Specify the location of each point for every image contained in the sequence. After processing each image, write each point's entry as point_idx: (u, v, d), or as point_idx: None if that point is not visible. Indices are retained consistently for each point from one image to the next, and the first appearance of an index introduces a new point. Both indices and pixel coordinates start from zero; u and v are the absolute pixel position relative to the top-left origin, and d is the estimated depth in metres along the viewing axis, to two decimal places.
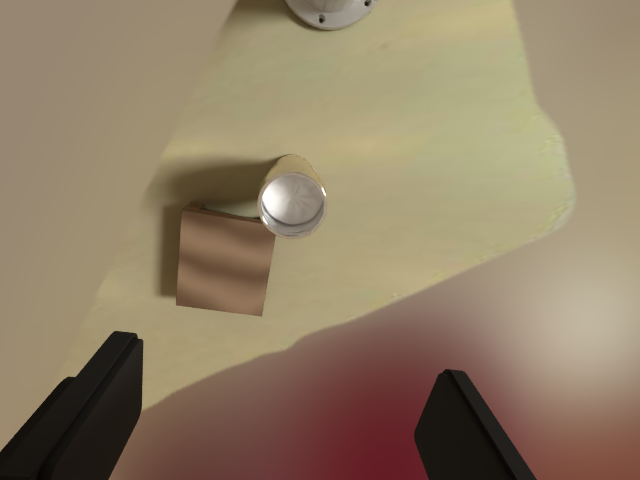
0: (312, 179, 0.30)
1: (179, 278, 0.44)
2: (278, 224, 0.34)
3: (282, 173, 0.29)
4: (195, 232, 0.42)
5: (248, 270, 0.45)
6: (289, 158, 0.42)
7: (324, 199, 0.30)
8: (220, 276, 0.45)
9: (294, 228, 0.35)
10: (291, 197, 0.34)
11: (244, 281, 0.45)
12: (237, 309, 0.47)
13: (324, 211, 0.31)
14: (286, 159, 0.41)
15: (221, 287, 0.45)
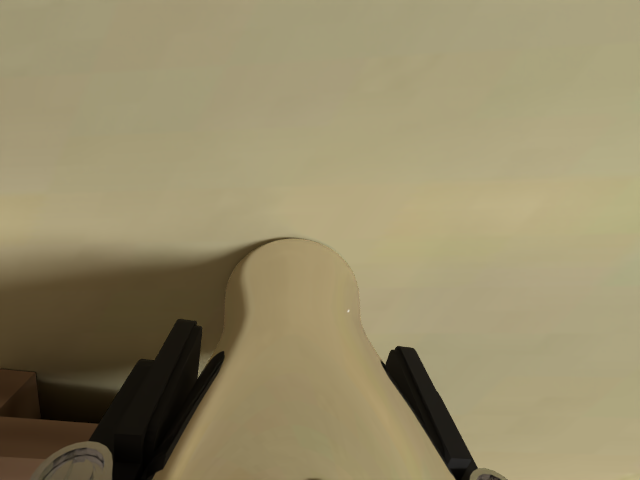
0: None
1: None
2: None
3: None
4: None
5: None
6: (282, 262, 0.12)
7: None
8: None
9: None
10: None
11: None
12: None
13: None
14: (272, 267, 0.12)
15: None
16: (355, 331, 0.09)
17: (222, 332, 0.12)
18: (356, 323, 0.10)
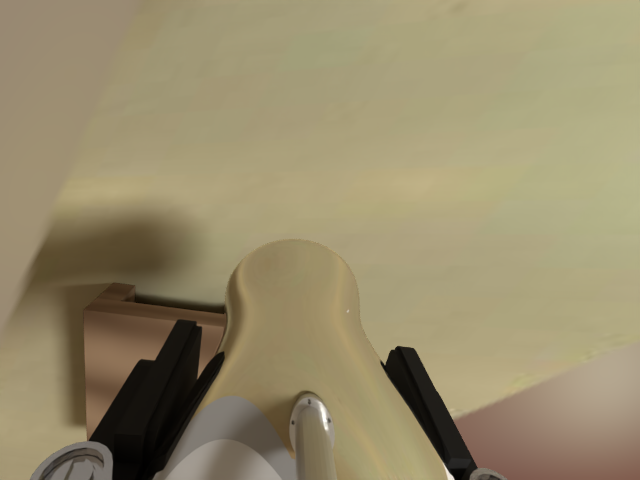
0: None
1: (89, 419, 0.25)
2: None
3: None
4: (112, 345, 0.23)
5: None
6: (282, 263, 0.12)
7: None
8: None
9: None
10: None
11: None
12: None
13: None
14: (272, 267, 0.12)
15: None
16: (355, 331, 0.09)
17: None
18: (356, 323, 0.10)
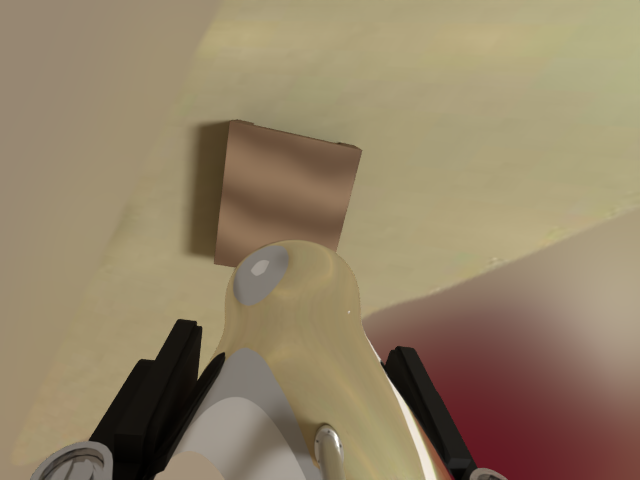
0: None
1: (220, 225, 0.32)
2: None
3: None
4: (247, 155, 0.29)
5: (316, 215, 0.32)
6: (283, 263, 0.12)
7: None
8: (277, 223, 0.32)
9: None
10: None
11: (309, 231, 0.33)
12: None
13: None
14: (272, 268, 0.12)
15: (278, 240, 0.33)
16: (355, 332, 0.09)
17: None
18: (356, 324, 0.10)
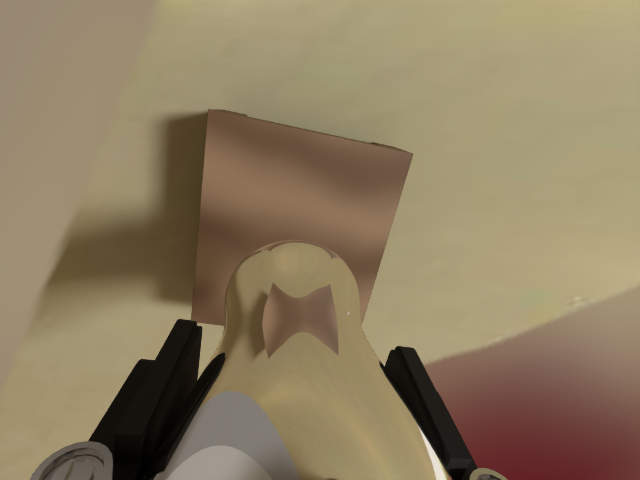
0: None
1: (199, 267, 0.21)
2: None
3: None
4: (236, 164, 0.19)
5: (341, 251, 0.22)
6: (282, 264, 0.12)
7: None
8: None
9: None
10: None
11: None
12: None
13: None
14: (272, 269, 0.12)
15: None
16: (355, 333, 0.09)
17: (222, 334, 0.11)
18: (356, 325, 0.10)
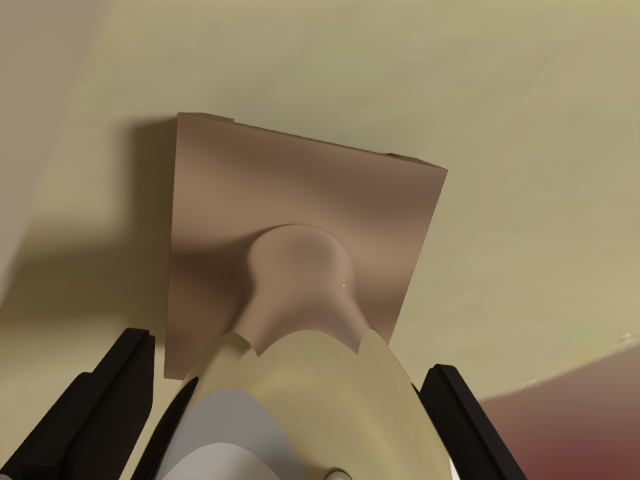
0: None
1: (172, 313, 0.17)
2: None
3: None
4: (217, 184, 0.14)
5: None
6: (285, 245, 0.14)
7: None
8: None
9: None
10: None
11: None
12: None
13: None
14: (276, 248, 0.14)
15: None
16: (348, 299, 0.11)
17: None
18: (350, 295, 0.12)
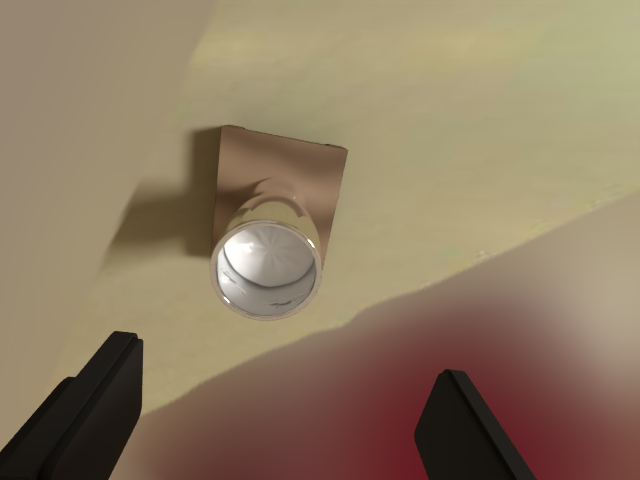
0: (296, 231, 0.18)
1: (215, 225, 0.33)
2: (250, 290, 0.23)
3: (246, 223, 0.18)
4: (239, 158, 0.31)
5: None
6: (270, 184, 0.30)
7: (316, 261, 0.19)
8: None
9: (275, 294, 0.23)
10: (268, 249, 0.23)
11: None
12: None
13: (317, 278, 0.19)
14: (266, 186, 0.30)
15: None
16: (293, 198, 0.27)
17: None
18: (296, 200, 0.28)
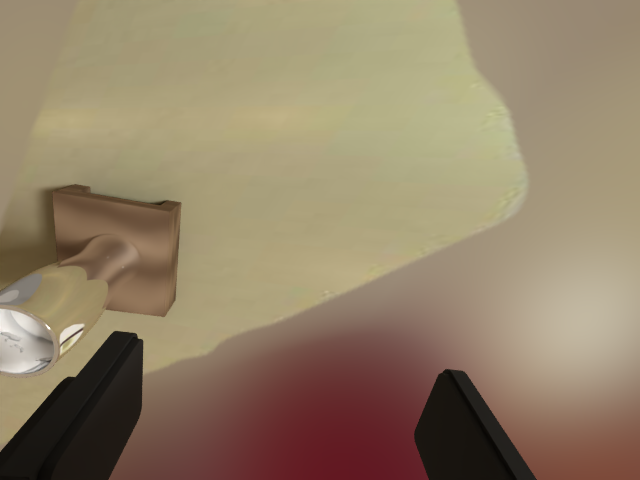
0: (25, 312, 0.23)
1: None
2: (33, 346, 0.28)
3: None
4: (72, 218, 0.36)
5: (142, 263, 0.38)
6: (95, 242, 0.35)
7: (49, 333, 0.24)
8: None
9: None
10: None
11: (139, 276, 0.39)
12: (134, 308, 0.40)
13: (55, 346, 0.24)
14: (91, 244, 0.35)
15: None
16: (98, 260, 0.32)
17: None
18: (107, 260, 0.33)
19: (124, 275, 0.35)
